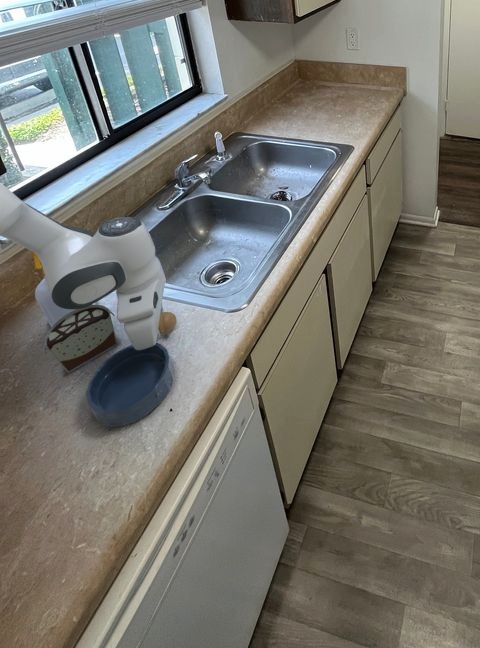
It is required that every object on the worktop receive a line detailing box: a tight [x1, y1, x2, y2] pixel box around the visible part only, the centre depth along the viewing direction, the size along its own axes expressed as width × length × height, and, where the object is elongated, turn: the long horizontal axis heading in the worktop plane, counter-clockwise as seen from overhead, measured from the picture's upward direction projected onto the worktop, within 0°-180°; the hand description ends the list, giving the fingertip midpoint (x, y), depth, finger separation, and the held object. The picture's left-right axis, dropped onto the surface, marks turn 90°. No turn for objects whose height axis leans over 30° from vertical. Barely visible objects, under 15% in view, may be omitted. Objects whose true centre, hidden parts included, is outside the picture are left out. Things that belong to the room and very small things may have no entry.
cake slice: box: [43, 303, 119, 374], centre depth 95 cm, size 12×6×10 cm, turn 134°
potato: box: [158, 311, 178, 336], centre depth 99 cm, size 8×5×5 cm, turn 111°
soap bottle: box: [30, 251, 96, 328], centre depth 100 cm, size 9×9×25 cm
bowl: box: [85, 342, 175, 428], centre depth 87 cm, size 14×14×5 cm
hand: (158, 326), depth 100 cm, fingers closed on potato, 4 cm apart
